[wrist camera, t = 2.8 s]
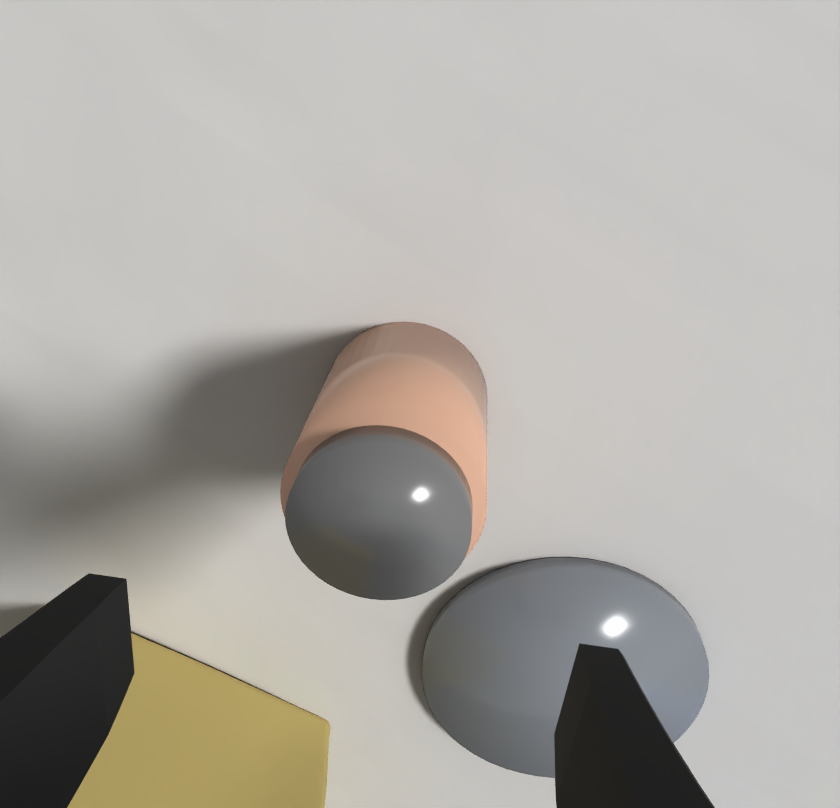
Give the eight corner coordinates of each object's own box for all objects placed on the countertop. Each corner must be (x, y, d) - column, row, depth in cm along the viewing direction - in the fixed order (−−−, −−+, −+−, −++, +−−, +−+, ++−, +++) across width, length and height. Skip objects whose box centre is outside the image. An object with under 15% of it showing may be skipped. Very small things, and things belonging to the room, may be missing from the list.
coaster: (740, 580, 22) (747, 593, 22) (663, 779, 26) (667, 795, 26) (441, 538, 22) (440, 550, 22) (410, 742, 26) (408, 757, 26)
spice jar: (499, 333, 19) (503, 447, 14) (475, 476, 21) (470, 624, 16) (332, 311, 19) (272, 416, 14) (323, 455, 21) (268, 594, 16)
